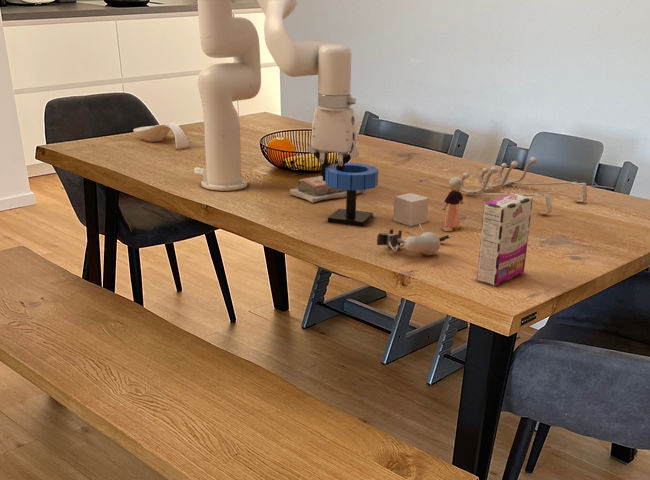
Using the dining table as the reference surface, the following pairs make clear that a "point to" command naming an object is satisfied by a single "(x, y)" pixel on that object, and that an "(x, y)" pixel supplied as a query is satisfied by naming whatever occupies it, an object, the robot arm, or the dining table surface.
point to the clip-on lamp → (412, 242)
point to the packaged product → (317, 190)
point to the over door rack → (504, 182)
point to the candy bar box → (504, 238)
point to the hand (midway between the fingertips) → (332, 179)
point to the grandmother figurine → (453, 205)
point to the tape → (352, 177)
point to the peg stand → (350, 213)
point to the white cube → (410, 209)
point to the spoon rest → (162, 134)
